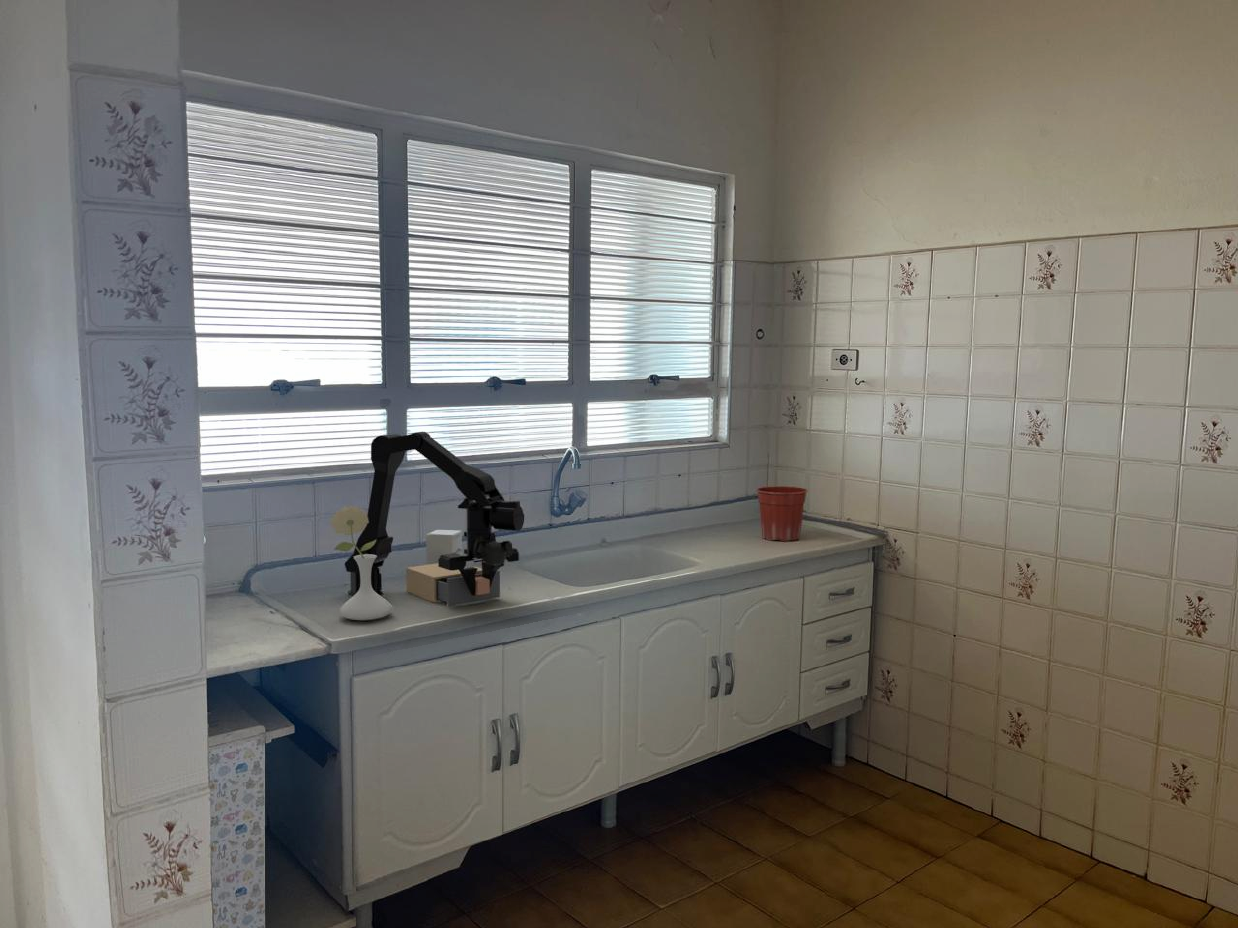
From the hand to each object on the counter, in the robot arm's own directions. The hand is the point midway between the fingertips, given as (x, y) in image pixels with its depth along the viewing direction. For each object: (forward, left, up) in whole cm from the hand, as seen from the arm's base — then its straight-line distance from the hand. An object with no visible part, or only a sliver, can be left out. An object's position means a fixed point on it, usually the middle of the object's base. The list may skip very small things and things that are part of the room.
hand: (479, 594), depth 225 cm
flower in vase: (-26, +7, -3) cm, 27 cm away
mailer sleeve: (0, +16, -3) cm, 16 cm away
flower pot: (+122, +14, -3) cm, 123 cm away
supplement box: (+7, +29, -3) cm, 30 cm away
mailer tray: (0, +8, -2) cm, 8 cm away
